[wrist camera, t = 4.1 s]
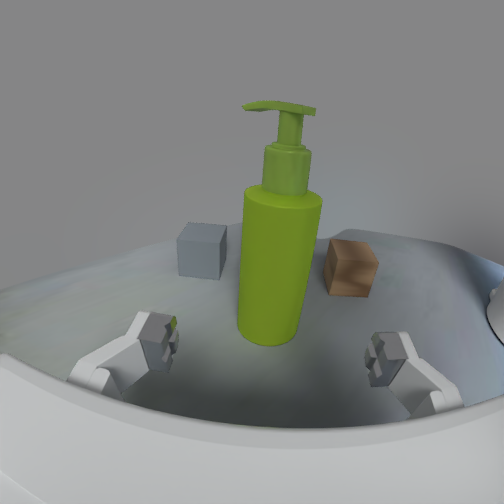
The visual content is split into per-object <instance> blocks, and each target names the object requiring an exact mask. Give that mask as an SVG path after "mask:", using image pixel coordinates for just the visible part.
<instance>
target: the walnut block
mask: <svg viewBox="0 0 504 504" xmlns="http://www.w3.org/2000/svg"><path fill="white" fill-rule="evenodd" d="M378 264H379V262H378V260H377V258H376V257H375V255H374V253H373V252H372V250H371V248H370V247H369V245H368V244H367V243H366V242H356V241H347V240H338V239H330V243H329V247H328V252H327V257H326V261H325V266H324V270H323V274H324V278H325V282H326V285H327V289H328V293H329V295H336V296H352V297H368V294H369V291H370V288H371V286H372V283H373V280H374V277H375V274H376V271H377V267H378Z"/></svg>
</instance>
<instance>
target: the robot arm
mask: <svg viewBox="0 0 504 504" xmlns="http://www.w3.org/2000/svg"><path fill="white" fill-rule="evenodd" d="M487 316H488V320H489V322H490V324H491V326H492V328H493V330H494V332H495V333H496V334H497V336H498V337H499V338H500V340H501V341H502V342H503V343H504V278H503V279H502V281H501V283H500V285H499V286H498V288H497V289H492V291H491V292H490V303H489V305H488V307H487ZM176 324H177V322H176V317H175V316H171V315H165V314H160V313H154V312H148V311H143V310H141V311H139V312H138V314H137V315H136V317H135V319H134V320H133V322H132V324H131V326H130V328H129V329H128V331H127V333H126V335H125V336H120V337H118V338H117V339H115V340H113V341H111V342H110V343H108V344H106V345H104V346H102V347H101V348H99V349H97V350H95V351H94V352H92V353H90V354H88V355H86V356H85V357H83V358H81V359H79V360H78V362H77V364H76V365H75V367H74V369H73V370H72V372H71V374H70V375H69V377H68V379H67V381H64V380H62V379H60V378H57V377H55V376H53V375H51V374H48V373H46V372H44V371H42V370H40V369H38V368H36V367H34V366H32V365H30V364H28V363H26V362H24V361H22V360H20V359H18V358H16V357H15V356H13V355H11V354H8V353H3V354H0V504H504V394H503V395H500V396H498V397H495V398H492V399H489V400H486V401H483V402H480V403H477V404H474V405H470V406H467V407H464V404H463V402H462V399H461V397H460V394H459V392H458V389H457V387H456V386H455V385H454V384H453V383H452V382H450V381H449V380H448V379H447V378H445V377H444V376H443V375H442V374H441V373H439V372H438V371H437V370H436V369H434V368H433V367H432V366H431V365H429V364H428V363H427V362H426V361H425V360H423V359H422V358H419V357H418V355H417V352H416V350H415V348H414V345H413V343H412V341H411V339H410V336H409V334H408V333H407V332H375V333H374V334H373V336H372V338H371V339H372V343H371V344H370V345H368V347H367V349H366V351H365V357H364V358H365V365H366V367H367V368H368V369H369V370H370V372H369V374H368V377H369V381H370V385H371V387H387V386H389V387H388V388H389V389H390V390H391V391H392V393H393V394H394V395H395V396H396V397H397V398H398V400H399V401H400V402H401V403H402V404H403V405H404V407H405V408H406V409H407V410H408V411H409V412H410V414H411V415H410V416H409V417H408V419H407V420H405V421H398V422H392V423H384V424H376V425H366V426H355V427H339V428H275V427H259V426H247V425H237V424H228V423H221V422H214V421H207V420H201V419H195V418H189V417H184V416H179V415H174V414H170V413H165V412H161V411H156V410H152V409H148V408H144V407H141V406H137V405H133V404H130V403H126V402H125V401H124V399H123V397H122V395H121V393H122V392H124V391H125V390H126V389H127V388H128V387H130V386H131V385H132V384H133V383H135V382H136V381H137V380H138V379H139V378H141V377H142V376H143V375H144V374H145V373H147V372H148V371H149V369H150V370H155V371H161V372H166V373H169V370H170V367H171V364H172V362H173V359H172V355H173V354H174V353H176V350H177V347H178V341H179V335H178V331H177V330H176V328H175V327H176Z"/></svg>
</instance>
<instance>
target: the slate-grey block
mask: <svg viewBox="0 0 504 504" xmlns="http://www.w3.org/2000/svg"><path fill="white" fill-rule="evenodd" d="M226 234H227V226H226V225H216V224H204V223H191V222H188V224H187V225H186V227H185V228H184V230H183V231H182V232H181V234H180V235H179V237H178V238H177V254H178V267H179V276H186V277H195V278H203V279H213V280H220V277H221V273H222V270H223V267H224V264H225V260H226Z"/></svg>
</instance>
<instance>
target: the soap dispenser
mask: <svg viewBox="0 0 504 504" xmlns="http://www.w3.org/2000/svg"><path fill="white" fill-rule="evenodd" d="M242 107H243V109H244V110H245V111H259V112H261V111H267V110H280V115H279V127H278V140H277V142H273V143H272V145H267V146H266V147H265V152H264V166H263V178H262V184H261V185H255V186H251V187H249V188H247V189H246V190H245V193H244V208H243V226H242V244H241V263H240V282H239V303H238V329H239V331H240V333H241V334H242V335H243V336H244V337H245V338H246V339H247V340H249V341H251V342H253V343H255V344H258V345H263V346H277V345H281V344H284V343H286V342H288V341H290V340H291V339H292V338H293V337H294V335H295V334H296V331H297V327H298V323H299V319H300V314H301V310H302V305H303V301H304V296H305V292H306V287H307V282H308V277H309V273H310V268H311V263H312V257H313V252H314V247H315V242H316V236H317V230H318V225H319V219H320V213H321V207H322V198H321V197H320V196H319V195H317V194H316V193H314V192H311V191H309V190H307V187H308V179H309V171H310V163H311V154H312V153H311V151H310V150H308V149H306V147H305V146H304V145H301V138H302V128H303V117H304V114H305V115H312V116H315V112H316V108H312V107H308V106H303V105H298V104H293V103H287V102H280V101H257V102H252V103H248V104H245V105H243V106H242Z"/></svg>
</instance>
